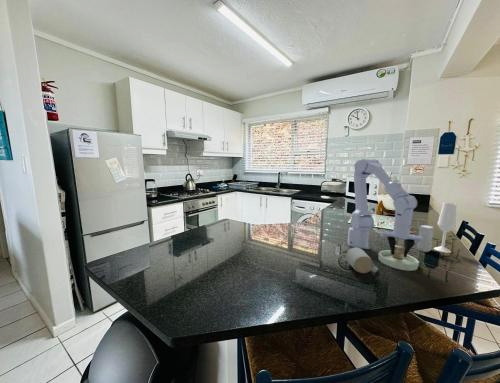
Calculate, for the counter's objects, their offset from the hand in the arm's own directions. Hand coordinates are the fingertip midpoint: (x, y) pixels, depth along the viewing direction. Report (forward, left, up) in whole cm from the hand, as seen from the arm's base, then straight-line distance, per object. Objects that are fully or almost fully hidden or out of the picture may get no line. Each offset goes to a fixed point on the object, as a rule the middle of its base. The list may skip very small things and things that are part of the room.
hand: (398, 255), depth 91 cm
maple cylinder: (0, 0, -1) cm, 1 cm away
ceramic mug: (-15, -13, -4) cm, 20 cm away
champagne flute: (+26, +28, -4) cm, 38 cm away
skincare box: (+17, +24, -4) cm, 30 cm away
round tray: (0, 0, -3) cm, 3 cm away
